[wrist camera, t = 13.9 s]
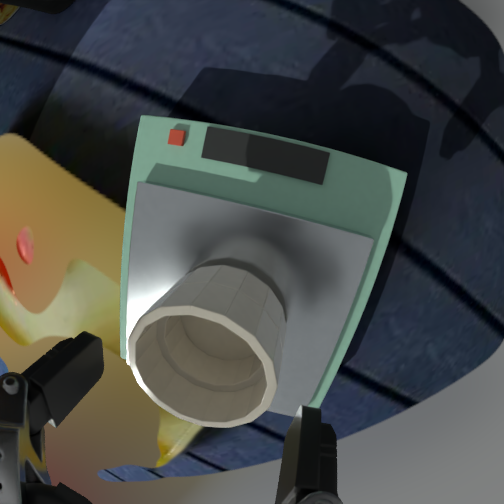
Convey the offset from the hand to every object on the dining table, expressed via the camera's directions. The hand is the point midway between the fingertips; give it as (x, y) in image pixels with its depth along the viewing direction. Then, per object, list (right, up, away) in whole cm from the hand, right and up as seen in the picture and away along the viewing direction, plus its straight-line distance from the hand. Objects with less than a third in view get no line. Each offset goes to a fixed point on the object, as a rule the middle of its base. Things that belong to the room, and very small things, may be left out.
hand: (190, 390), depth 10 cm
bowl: (+1, +2, +6) cm, 6 cm away
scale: (+2, +4, +9) cm, 10 cm away
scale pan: (+1, +2, +6) cm, 7 cm away
